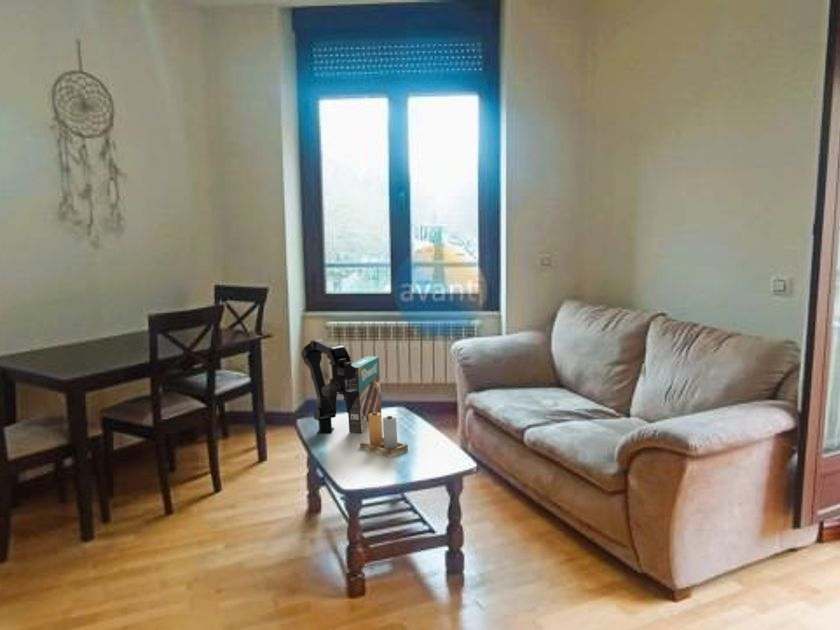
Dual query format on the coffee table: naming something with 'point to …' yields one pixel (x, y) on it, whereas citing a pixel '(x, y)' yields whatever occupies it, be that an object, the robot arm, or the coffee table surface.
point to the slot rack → (380, 449)
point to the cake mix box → (364, 393)
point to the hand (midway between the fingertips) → (341, 411)
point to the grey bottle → (390, 432)
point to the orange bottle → (375, 428)
